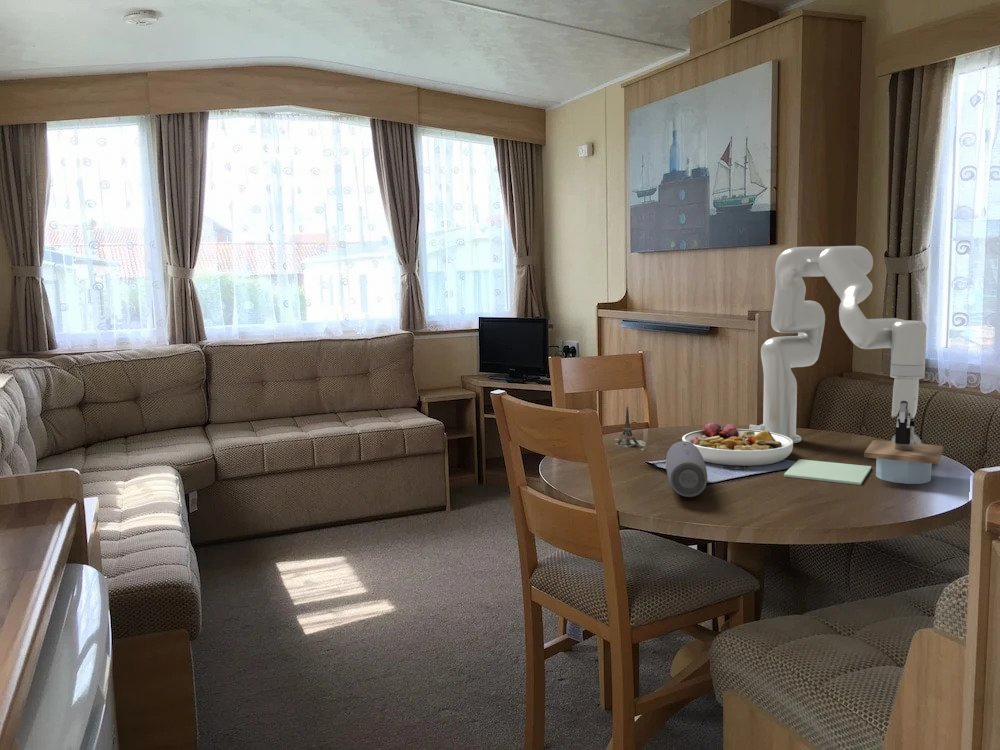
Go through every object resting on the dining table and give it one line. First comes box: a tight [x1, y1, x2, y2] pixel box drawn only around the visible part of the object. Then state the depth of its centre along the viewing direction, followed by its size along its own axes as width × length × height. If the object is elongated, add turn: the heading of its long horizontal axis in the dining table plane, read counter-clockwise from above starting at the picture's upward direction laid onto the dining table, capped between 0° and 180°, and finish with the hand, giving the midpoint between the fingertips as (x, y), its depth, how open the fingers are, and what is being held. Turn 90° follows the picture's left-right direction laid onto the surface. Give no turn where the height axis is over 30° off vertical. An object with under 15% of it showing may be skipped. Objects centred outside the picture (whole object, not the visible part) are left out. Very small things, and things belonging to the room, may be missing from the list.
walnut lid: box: [863, 426, 944, 465], centre depth 197 cm, size 16×16×7 cm
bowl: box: [681, 421, 794, 467], centre depth 226 cm, size 30×30×8 cm
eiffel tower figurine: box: [614, 403, 647, 451], centre depth 243 cm, size 15×10×13 cm
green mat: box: [783, 458, 872, 486], centre depth 205 cm, size 18×18×1 cm
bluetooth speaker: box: [665, 440, 708, 498], centre depth 193 cm, size 23×9×10 cm, turn 170°
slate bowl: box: [875, 458, 933, 485], centre depth 198 cm, size 12×12×6 cm
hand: (904, 439), depth 197 cm, fingers open, 9 cm apart
